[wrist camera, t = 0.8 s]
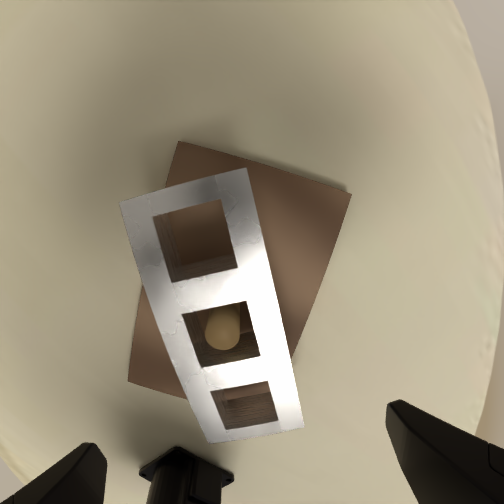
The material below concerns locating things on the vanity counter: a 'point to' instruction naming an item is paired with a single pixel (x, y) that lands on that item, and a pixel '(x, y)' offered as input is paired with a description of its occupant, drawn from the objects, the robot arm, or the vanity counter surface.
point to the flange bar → (212, 295)
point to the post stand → (219, 244)
